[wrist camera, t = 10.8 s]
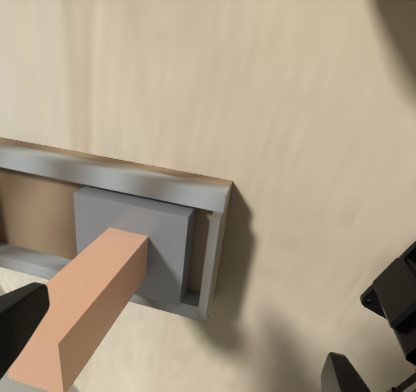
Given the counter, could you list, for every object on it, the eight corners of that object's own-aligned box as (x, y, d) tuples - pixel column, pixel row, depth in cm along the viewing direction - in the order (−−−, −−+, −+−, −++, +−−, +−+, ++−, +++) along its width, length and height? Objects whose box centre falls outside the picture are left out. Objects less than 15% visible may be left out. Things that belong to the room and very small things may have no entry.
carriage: (196, 204, 21) (117, 323, 11) (187, 288, 24) (118, 442, 14) (90, 183, 22) (-66, 271, 12) (93, 265, 25) (-31, 390, 15)
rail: (232, 181, 21) (222, 201, 18) (214, 297, 25) (203, 332, 22) (-22, 133, 25) (-71, 142, 21) (-2, 242, 29) (-41, 265, 25)
